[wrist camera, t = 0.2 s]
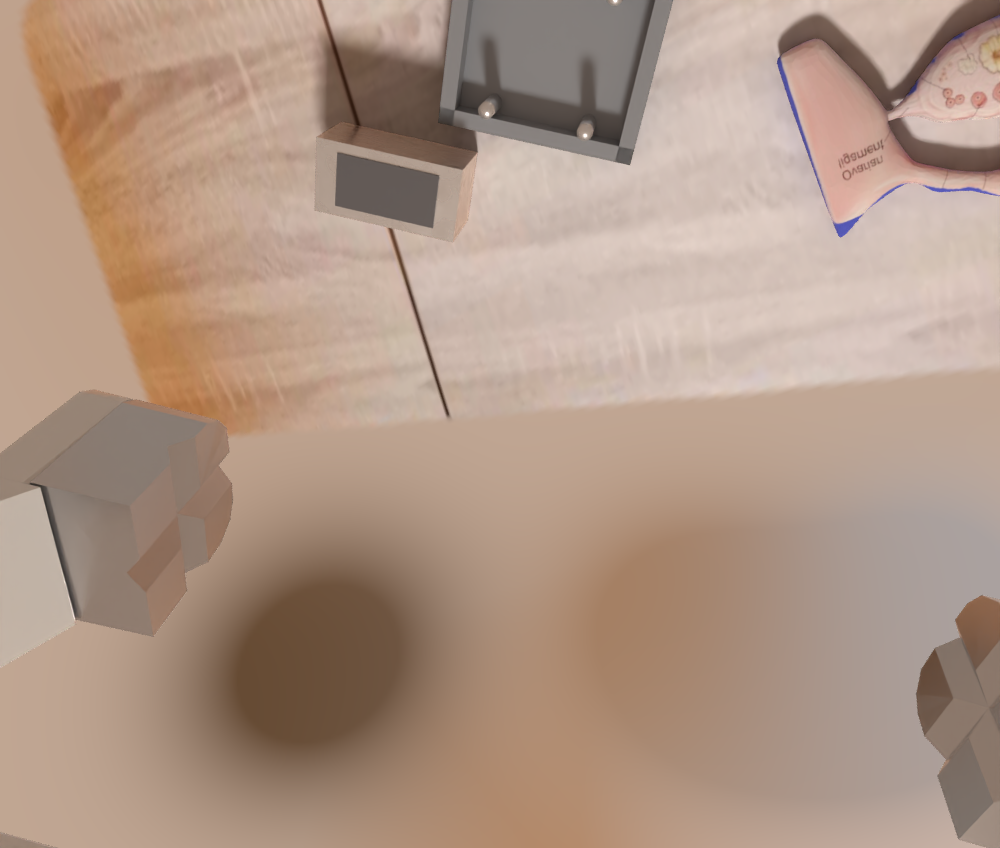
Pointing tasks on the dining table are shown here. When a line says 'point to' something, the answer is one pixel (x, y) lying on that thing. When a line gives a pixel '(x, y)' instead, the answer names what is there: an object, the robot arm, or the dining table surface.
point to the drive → (394, 180)
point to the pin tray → (553, 71)
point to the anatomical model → (864, 121)
